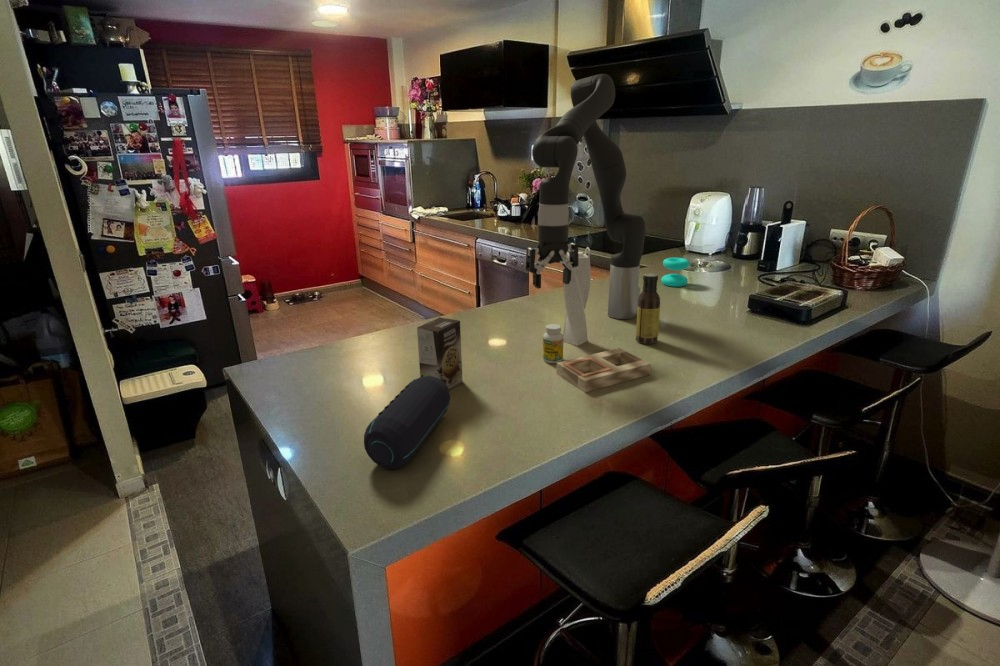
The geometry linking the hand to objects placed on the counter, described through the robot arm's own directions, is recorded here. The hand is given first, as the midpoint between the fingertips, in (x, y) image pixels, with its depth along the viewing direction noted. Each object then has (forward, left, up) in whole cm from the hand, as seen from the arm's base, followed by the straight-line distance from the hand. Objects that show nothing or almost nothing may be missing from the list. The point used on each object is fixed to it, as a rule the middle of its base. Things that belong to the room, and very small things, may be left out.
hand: (551, 285), depth 137 cm
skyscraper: (-13, -7, -21) cm, 26 cm away
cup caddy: (-6, +15, -21) cm, 26 cm away
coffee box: (+32, +1, -21) cm, 38 cm away
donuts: (-83, -39, -21) cm, 94 cm away
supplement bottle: (0, +1, -21) cm, 21 cm away
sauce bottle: (-31, +3, -21) cm, 38 cm away
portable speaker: (+46, +21, -21) cm, 55 cm away
